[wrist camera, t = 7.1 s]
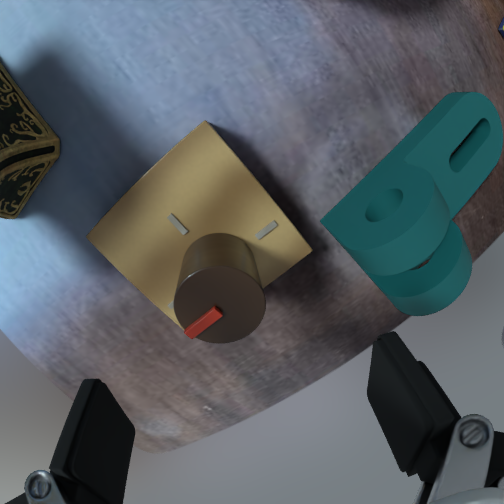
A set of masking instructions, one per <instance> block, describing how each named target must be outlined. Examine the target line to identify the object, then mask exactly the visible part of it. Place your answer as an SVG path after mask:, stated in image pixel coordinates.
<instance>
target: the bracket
mask: <svg viewBox="0 0 504 504" xmlns="http://www.w3.org/2000/svg"><path fill="white" fill-rule="evenodd" d="M472 129H473V130H472ZM471 130H472V133H471V134H470V135H469V137H468V138H467V139H466V140H465V141H464V142H463V144H462V145H461V146H460V147H459V148H458V149H457V151H456V152H455V153H454V154H453V155H452V156H451V157H450V155H451V154H452V152H453V151H454V150H455V149H456V148H457V147H458V145H459V144H460V143H461V142H462V141H463V140H464V138H465V137H466V136H467V135H468V134H469V133H470V131H471ZM502 144H503V132H502V125H501V121H500V118H499V115H498V112H497V110H496V108H495V107H494V105H493V104H492V102H491V101H490V100H489V99H488V98H487V97H486V96H484V95H482V94H480V93H477V92H454V93H450V94H448V95H446V96H445V97H444V98H443V99H442V100H441V101H440V102H439V103H438V104H437V105H436V106H435V107H434V108H433V109H432V110H431V111H430V112H429V113H428V114H427V115H426V116H425V117H424V118H423V119H422V121H421V122H420V123H419V124H418V125H417V126H416V127H415V128H414V129H413V130H412V131H411V132H410V133H409V134H408V135H407V136H406V137H405V138H404V139H403V140H402V141H401V142H400V143H399V144H398V145H397V146H396V147H395V148H394V149H393V150H392V151H391V152H390V153H389V154H388V155H387V156H386V157H385V158H384V159H383V160H382V161H381V162H380V163H379V164H378V165H377V166H376V167H375V168H374V169H373V170H372V171H371V172H370V173H369V174H368V175H367V176H366V177H365V178H363V179H362V180H361V181H360V182H359V183H358V184H357V185H356V186H355V187H354V188H353V189H352V190H351V191H350V192H349V193H348V194H347V195H346V196H345V197H344V198H343V199H342V200H341V201H340V202H339V203H338V204H337V205H336V206H335V207H334V208H333V209H332V210H331V211H330V212H328V213H327V214H326V215H325V216H324V217H323V218H322V219H321V220H320V222H321V223H322V224H323V225H324V226H325V228H326V229H327V230H328V231H329V232H330V233H331V234H332V235H333V236H334V237H335V239H336V240H337V241H338V242H339V243H340V244H341V245H342V246H343V247H344V249H345V250H346V251H347V252H348V253H349V254H350V255H351V257H352V258H353V259H354V260H355V261H356V262H357V263H358V265H359V266H360V267H361V268H362V269H363V270H364V272H365V273H366V274H367V275H368V276H369V277H370V278H371V280H372V281H373V282H374V283H375V284H376V285H377V286H378V287H379V289H380V290H381V291H382V292H383V293H384V294H385V295H386V296H387V298H388V299H389V300H390V301H391V302H392V303H393V304H394V306H395V307H396V308H397V309H398V310H400V311H401V312H403V313H405V314H408V315H412V316H425V315H429V314H432V313H436V312H438V311H440V310H442V309H444V308H445V307H447V306H448V305H450V304H451V303H452V302H453V301H455V299H456V298H457V297H458V296H459V295H460V294H461V293H462V292H463V290H464V289H465V287H466V285H467V283H468V281H469V278H470V275H471V271H472V258H471V254H470V252H469V249H468V247H467V245H466V243H465V240H464V238H463V236H462V234H461V232H460V229H459V228H458V226H457V225H456V224H455V223H454V222H453V221H452V218H453V217H454V216H455V215H456V214H457V213H458V212H459V210H460V209H461V208H462V207H463V206H464V205H465V203H466V202H467V201H468V200H469V199H470V197H471V196H472V195H473V194H474V193H475V191H476V190H477V189H478V188H479V186H480V185H481V184H482V183H483V181H484V180H485V179H486V177H487V176H488V175H489V174H490V172H491V171H492V170H493V168H494V167H495V166H496V164H497V162H498V160H499V158H500V155H501V151H502ZM429 259H430V261H429V262H428V263H427V264H426V265H424V266H423V267H421V268H419V269H417V268H418V267H419V266H420V265H421V264H422V263H423V262H425V261H426V260H429Z"/></svg>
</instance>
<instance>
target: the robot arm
mask: <svg viewBox="0 0 504 504" xmlns="http://www.w3.org/2000/svg"><path fill="white" fill-rule="evenodd" d="M367 397H368V400H369V402H370V404H371V406H372V408H373V411H374V413H375V415H376V417H377V419H378V422H379V424H380V426H381V428H382V430H383V433H384V435H385V437H386V439H387V441H388V444H389V446H390V448H391V450H392V453H393V455H394V457H395V459H396V461H397V464H398V466H399V468H400V470H401V471H402V472H405V471H406V473H407V475H408V477H409V476H412V475H414V474H416V473H418V475H419V478H420V480H421V481H422V483H421V486H420V488H419V491H418V493H417V495H416V498H415V500H414V503H413V504H504V433H503V432H497V431H494V429H493V426H492V424H491V422H490V421H489V420H488V419H487V418H485V417H484V416H481V415H478V414H470V415H467V416H464V417H463V418H461V416H460V415H459V413H458V412H457V410H456V409H455V407H454V406H453V404H452V403H451V401H450V400H449V398H448V397H447V395H446V394H445V392H444V391H443V389H442V388H441V387H440V385H439V384H438V382H437V381H436V380H435V378H434V376H433V375H432V374H431V372H430V371H429V369H428V368H427V367H426V365H425V364H424V363H423V362H421V361H416V359H415V358H414V356H413V355H412V354H411V352H410V351H409V349H408V348H407V347H406V345H405V344H404V342H403V341H402V340H401V338H400V337H399V336H398V334H397V333H396V332H394V331H393V332H389V333H386V334H382V335H379V336H378V338H377V341H374V342H373V349H372V358H371V366H370V373H369V380H368V387H367ZM134 437H135V428H134V426H133V424H132V423H131V421H130V420H129V418H128V417H127V416H126V414H125V413H124V411H123V410H122V408H121V407H120V405H119V404H118V402H117V401H116V399H115V398H114V396H113V395H112V393H111V392H110V390H109V389H108V387H107V385H106V384H105V383H102V381H101V380H100V379H84V380H83V382H82V384H81V386H80V388H79V390H78V393H77V395H76V398H75V400H74V402H73V405H72V407H71V410H70V412H69V415H68V417H67V420H66V422H65V425H64V428H63V430H62V433H61V436H60V438H59V441H58V444H57V446H56V449H55V452H54V455H53V458H52V461H51V464H50V467H49V469H50V473H49V472H47V471H45V470H37V471H34V472H33V473H31V474H30V475H29V476H28V477H27V479H26V482H25V487H24V489H25V493H23V494H21V495H20V496H18V497H16V498H14V499H13V500H11V501H9V502H7V503H5V504H123V499H124V493H125V486H126V480H127V474H128V469H129V463H130V457H131V452H132V447H133V442H134Z"/></svg>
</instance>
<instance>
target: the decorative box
mask: <svg viewBox="0 0 504 504" xmlns="http://www.w3.org/2000/svg"><path fill="white" fill-rule="evenodd" d="M59 155H60V139H59V138H58V136H57V135H56V134H55V133H54V132H53V130H52V129H51V128H50V127H49V125H48V124H47V123H46V122H45V121H44V119H43V118H42V117H41V116H40V114H39V113H38V112H37V111H36V109H35V108H34V107H33V105H32V104H31V103H30V102H29V100H28V99H27V98H26V96H25V95H24V94H23V92H22V91H21V90H20V88H19V87H18V86H17V84H16V83H15V82H14V80H13V79H12V78H11V76H10V75H9V74H8V72H7V71H6V69H5V68H4V67H3V65H2V64H1V63H0V218H4V219H15V218H17V217H18V215H19V213H20V212H21V210H22V209H23V207H24V205H25V204H26V202H27V201H28V199H29V198H30V196H31V195H32V193H33V192H34V190H35V189H36V187H37V186H38V185H39V183H40V182H41V180H42V179H43V178H44V176H45V175H46V173H47V172H48V171H49V169H50V168H51V167H52V165H53V164H54V163H55V161H56V160H57V159H58V157H59Z"/></svg>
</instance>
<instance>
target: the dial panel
mask: <svg viewBox="0 0 504 504" xmlns="http://www.w3.org/2000/svg"><path fill="white" fill-rule="evenodd" d="M212 233H226V234H230V235H233V236H236V237H238V238H239V239H241V240H242V241H244V242H245V243H246V244H247V245H248V246H249V248H250V249H251V251H252V253H253V255H254V258H255V262H256V265H257V269H258V273H259V277H260V280H261V284H262V288H264V287H266V286H267V285H268V284H270V283H271V282H272V281H274V280H275V279H276V278H278V277H279V276H280V275H282V274H283V273H284V272H286V271H287V270H288V269H290V268H291V267H292V266H294V265H295V264H296V263H297V262H299V261H300V260H301V259H303V258H304V257H305V256H307V255H308V254H309V253H310V252H312V251H313V250H312V248H311V247H310V246H309V244H308V243H307V241H306V240H305V239H304V237H303V236H302V235H301V233H300V232H299V231H298V230H297V228H296V227H295V226H294V224H293V223H292V222H291V221H290V219H289V218H288V217H287V216H286V214H285V213H284V212H283V211H282V209H281V208H280V207H279V206H278V204H277V203H276V202H275V201H274V199H273V198H272V197H271V196H270V195H269V193H268V192H267V191H266V190H265V188H264V187H263V186H262V185H261V184H260V182H259V181H258V180H257V179H256V177H255V176H254V175H253V174H252V173H251V171H250V170H249V169H248V168H247V167H246V165H245V164H244V163H243V162H242V161H241V160H240V158H239V157H238V156H237V155H236V154H235V152H234V151H233V150H232V149H231V148H230V147H229V145H228V144H227V143H226V142H225V141H224V140H223V138H222V137H221V136H220V135H219V134H218V133H217V132H216V130H215V129H214V128H213V127H212V126H211V125H210V124H209V122H207V121H206V120H205V121H203V122H202V123H201V124H200V125H198V126H197V127H196V128H195V129H194V130H193V131H191V132H190V133H189V134H188V135H187V136H186V137H184V138H183V139H182V140H181V141H180V142H179V143H178V144H176V145H175V146H174V147H173V148H172V149H171V150H170V151H169V152H168V153H166V154H165V155H164V156H163V157H162V158H161V159H160V160H159V161H158V162H157V163H156V164H155V165H154V166H153V167H151V168H150V169H149V170H148V171H147V172H146V173H145V174H144V175H143V176H142V177H141V178H140V179H139V180H138V181H137V182H136V183H135V184H134V185H133V186H132V187H131V188H130V189H129V190H128V191H127V192H126V193H125V194H124V195H123V196H122V197H121V198H120V199H119V200H118V201H117V203H116V204H115V205H114V206H113V207H112V208H111V209H110V210H109V211H108V212H107V213H106V214H105V215H104V216H103V218H102V219H101V220H100V221H99V222H98V223H97V224H96V225H95V226H94V228H93V229H92V230H91V231H90V232H89V233H88V234H87V236H86V238H87V239H88V240H89V241H90V242H91V243H92V244H93V245H94V246H95V247H96V248H97V249H98V250H99V251H100V252H101V253H102V254H103V255H104V256H105V257H106V258H107V259H108V260H109V261H110V262H111V263H112V264H113V265H114V266H115V267H116V268H117V269H118V270H119V271H120V272H121V273H122V274H123V275H124V276H125V277H126V278H127V279H128V280H129V281H130V282H131V283H132V284H133V285H134V286H135V287H136V288H137V289H138V290H140V291H141V292H142V293H143V294H144V295H145V296H146V297H147V298H148V299H149V300H150V301H151V302H153V303H154V304H155V305H156V306H157V307H158V308H159V309H160V310H161V311H163V312H164V313H165V314H166V315H167V316H168V317H169V318H171V319H172V320H173V321H174V322H175V323H176V324H177V325H179V326H180V327H181V328H182V329H183V327H182V326H181V325H180V323H179V322H178V320H177V318H176V316H175V312H174V307H173V302H174V295H175V291H176V287H177V283H178V278H179V274H180V270H181V266H182V262H183V258H184V255H185V253H186V251H187V249H188V248H189V246H190V245H191V244H192V243H193V242H194V241H196V240H197V239H199V238H200V237H202V236H205V235H208V234H212ZM183 330H184V329H183Z"/></svg>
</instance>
